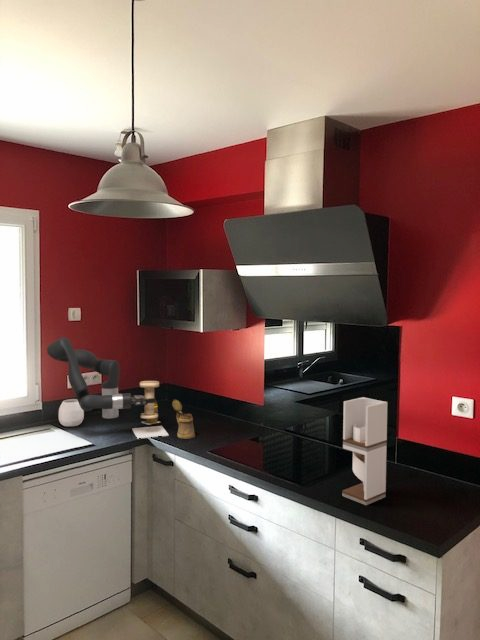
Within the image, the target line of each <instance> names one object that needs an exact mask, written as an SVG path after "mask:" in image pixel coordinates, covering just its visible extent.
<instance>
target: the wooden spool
mask: <svg viewBox="0 0 480 640" xmlns="http://www.w3.org/2000/svg"><path fill="white" fill-rule="evenodd" d="M139 387H140V388H144V396H145V398H148V399H149V398H155V388H158V387H160V381H158V380H143V381H142V380H141V381H140V382H139ZM157 417H158V418H159V413H154V403H148V404H147V405H144V412H141V413H140V419H146V420H147V419H153V418H157Z"/></svg>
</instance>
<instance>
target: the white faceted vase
mask: <svg viewBox="0 0 480 640" xmlns="http://www.w3.org/2000/svg"><path fill="white" fill-rule="evenodd" d="M84 416H85V411H84V410H82V409H81V407H80V405H79V402H78V400H77V398H70V399H69V398H68V399H65V400H62V402H61V404H60V406H59V408H58V422H59V423H60V424H61V425H62V426H64V427H77V426H79V425H81V424H82V422H83V420H84V419H85V417H84Z"/></svg>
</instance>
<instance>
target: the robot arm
mask: <svg viewBox="0 0 480 640" xmlns="http://www.w3.org/2000/svg"><path fill="white" fill-rule="evenodd" d="M46 352H47V355H48V356H49V357H50V358H52V359H53V360H55V361H58V362H64V363H68V372H67V373H68V375H67V376H68V378H67V379H68V382H69V385H70V386H71V389H72V390H73V393H74V394H75V396H76V399H77V400H78V402H79V405H80V407H81V409H82V410H84V412H91V411H92V410H93V409H101V410H102V411H101V413H102V414H101V416H102V418H103V419H116V418H119V412H120V411H119V409H120V410H123V409H131V408H132V405H135V406H143V405H144V406H145V405H147V404H148V403H155V402H156V401H157V400H156V397H154V398H149V399H148V398H145V394H143V395H135V394H134V395H132V394H131V392H129V393H119V383H120V370H121V369H120V363H119V361H118V360H114V359H103V358H102V359H101V358H98V357H97V356H96V355H95V353H93V352H91V351H88V350H86V349H74V347H73V344H72V342H71V341H70V340H69V338H68V337H65V336H61V337H60V338H58V339H56V340H55V341H53V342H51V343H50V344H49V345H48V346H47V348H46ZM80 368H83V369H87V370H92V371H94V372H96V373H98V374H100V375H101V376H107V377H108V378H107V380H106V381H103V382H102V383H101V394H91V393H90V391H89V387H88V384H87V382H86V381H85V378H84V376H83V374H82V371H81V369H80Z"/></svg>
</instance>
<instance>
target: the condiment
mask: <svg viewBox="0 0 480 640" xmlns="http://www.w3.org/2000/svg"><path fill="white" fill-rule="evenodd" d="M158 408H159V406H158V401H157V400H156V402H155V403H154V413H158V412H159V411H158ZM158 414H159V413H158ZM158 419H159V416H158V417H157V418H153V419H146V420H144V421H141V424H143V425H144V424H145V425H153V424H159V423H160V421H159V420H158Z"/></svg>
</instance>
